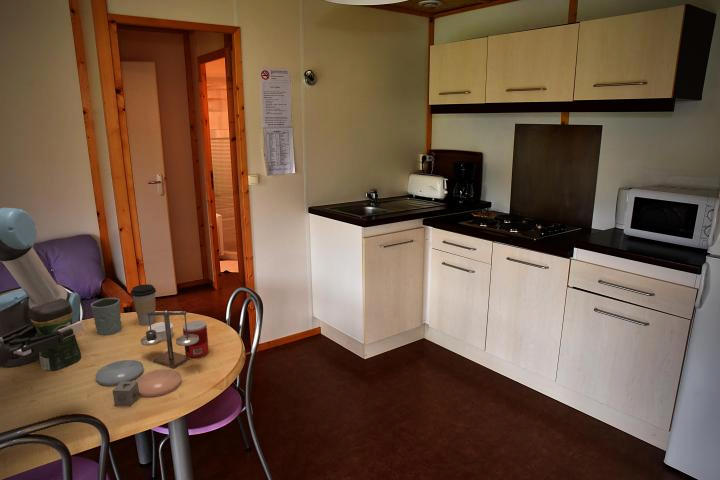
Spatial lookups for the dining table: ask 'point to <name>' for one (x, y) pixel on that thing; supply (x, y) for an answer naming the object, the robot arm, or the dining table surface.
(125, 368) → the slate dish
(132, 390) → the dice cube
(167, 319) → the balance
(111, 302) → the grey-green ceramic planter
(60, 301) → the coffee jar
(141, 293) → the coffee cup
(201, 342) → the canned food
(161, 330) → the ramekin
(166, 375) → the terracotta dish
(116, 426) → the dining table surface
